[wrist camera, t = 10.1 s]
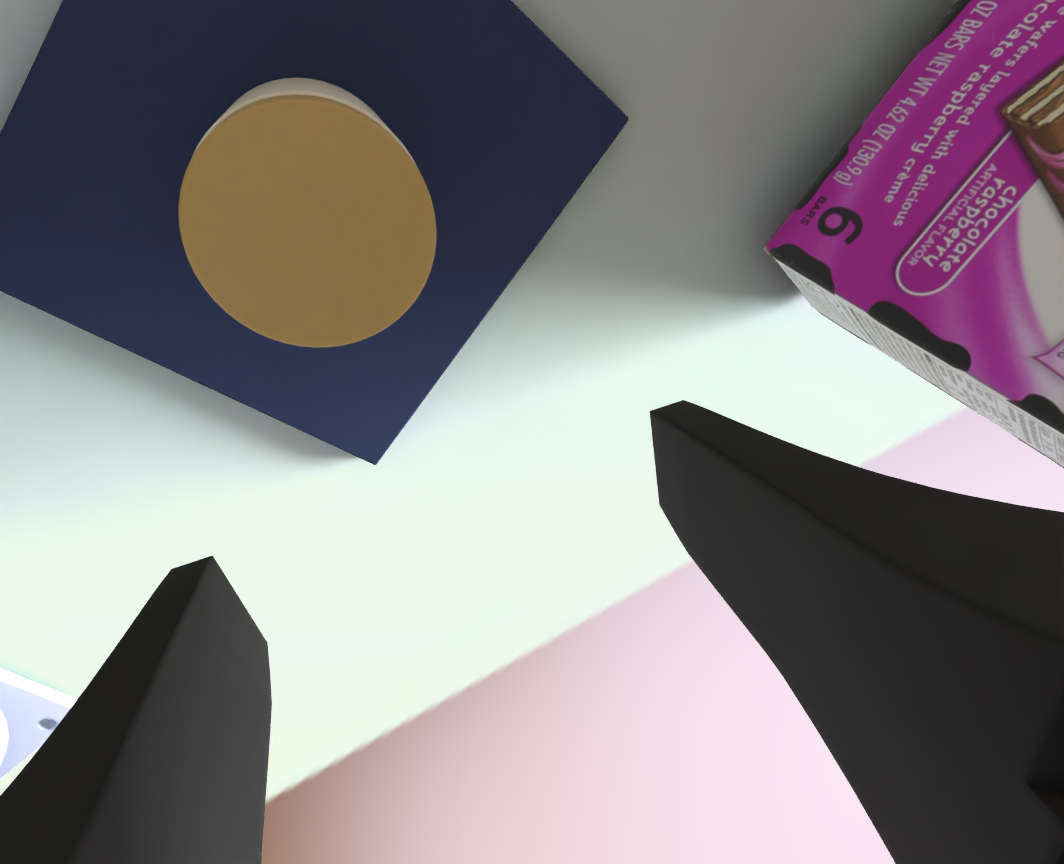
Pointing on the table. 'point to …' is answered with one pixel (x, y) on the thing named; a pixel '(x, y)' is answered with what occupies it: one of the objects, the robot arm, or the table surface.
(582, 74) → the napkin
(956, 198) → the candy bar box
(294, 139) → the cream jar
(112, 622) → the table surface
